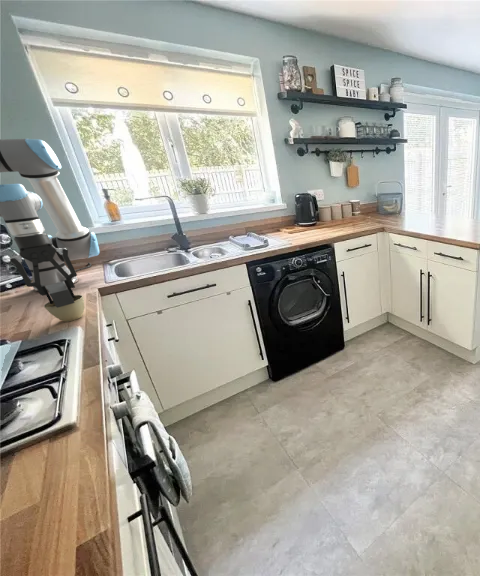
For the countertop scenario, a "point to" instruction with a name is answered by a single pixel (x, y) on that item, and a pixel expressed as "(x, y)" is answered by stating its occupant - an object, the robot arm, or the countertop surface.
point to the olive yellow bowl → (67, 309)
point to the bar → (60, 294)
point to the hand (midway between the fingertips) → (62, 300)
